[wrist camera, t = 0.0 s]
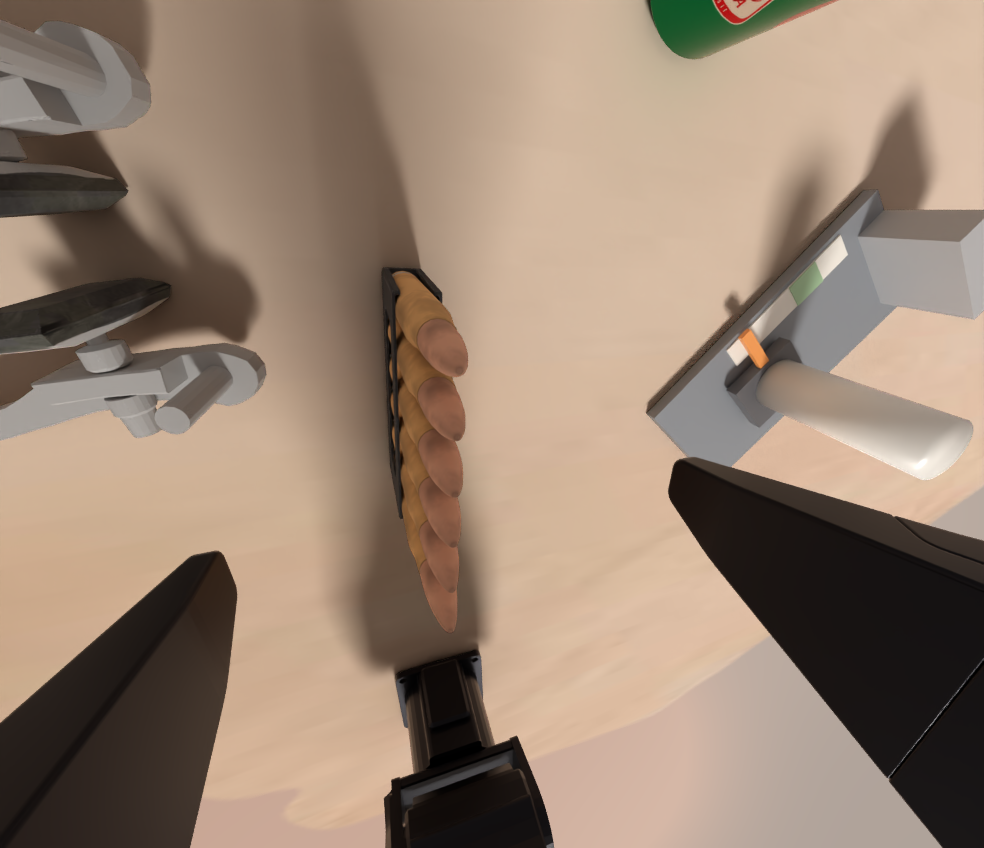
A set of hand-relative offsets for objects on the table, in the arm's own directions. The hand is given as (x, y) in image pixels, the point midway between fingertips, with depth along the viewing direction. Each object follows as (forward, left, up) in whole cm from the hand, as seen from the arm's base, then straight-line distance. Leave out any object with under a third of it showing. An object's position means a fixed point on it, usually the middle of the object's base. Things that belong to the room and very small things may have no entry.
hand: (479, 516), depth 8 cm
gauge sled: (-4, -22, -14) cm, 26 cm away
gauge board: (-4, -25, -15) cm, 29 cm away
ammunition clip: (-2, 0, -15) cm, 15 cm away
